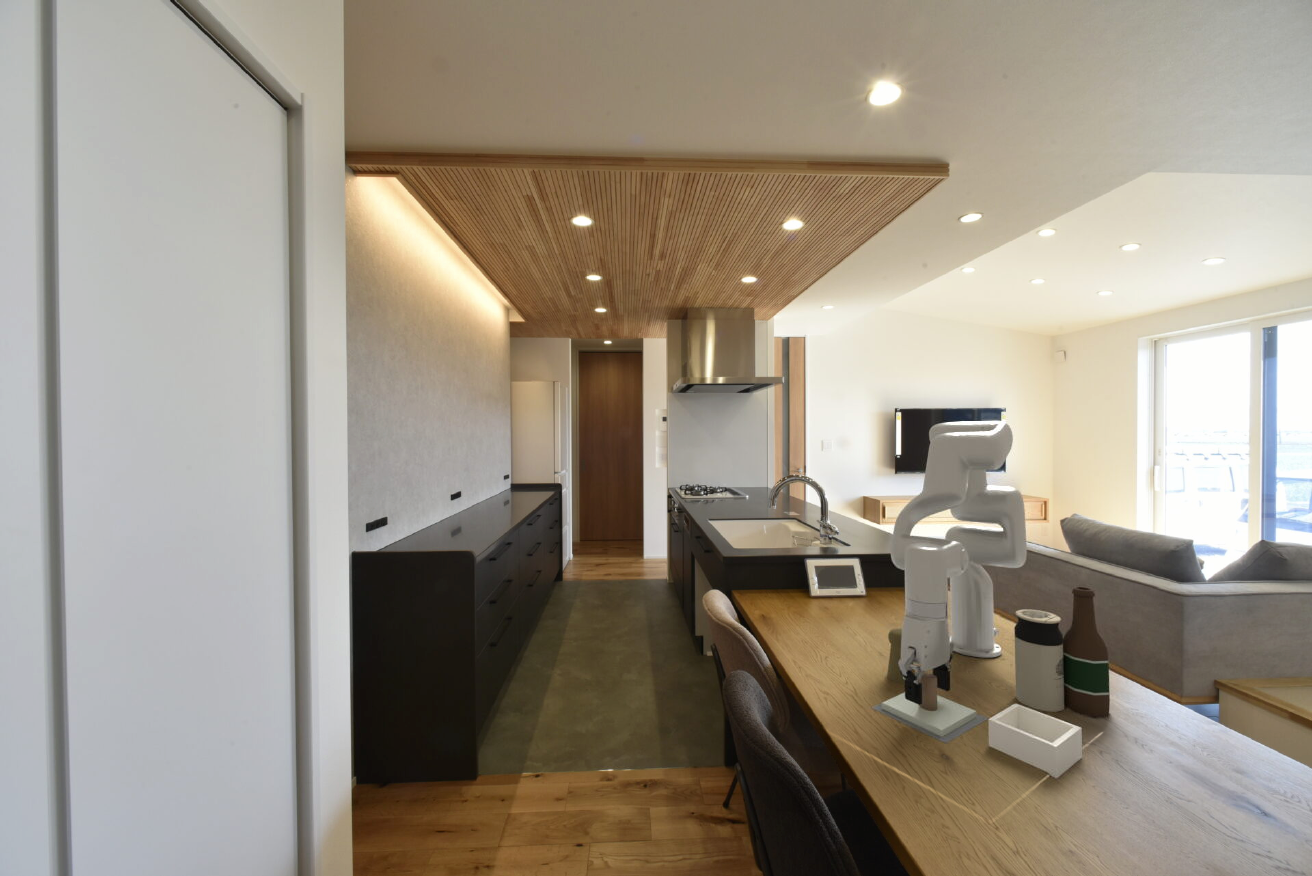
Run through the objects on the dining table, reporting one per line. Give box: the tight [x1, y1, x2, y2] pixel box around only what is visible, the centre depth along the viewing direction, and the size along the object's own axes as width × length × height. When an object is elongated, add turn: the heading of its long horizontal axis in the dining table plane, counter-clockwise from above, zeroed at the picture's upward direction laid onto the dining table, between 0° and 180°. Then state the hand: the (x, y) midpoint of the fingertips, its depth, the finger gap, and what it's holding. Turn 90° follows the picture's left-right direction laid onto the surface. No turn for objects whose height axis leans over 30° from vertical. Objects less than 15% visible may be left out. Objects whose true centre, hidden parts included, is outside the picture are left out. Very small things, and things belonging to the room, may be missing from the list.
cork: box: [886, 628, 916, 684], centre depth 118 cm, size 6×6×11 cm
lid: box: [881, 672, 977, 737], centre depth 102 cm, size 12×12×7 cm
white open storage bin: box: [987, 703, 1083, 779], centre depth 90 cm, size 10×10×5 cm
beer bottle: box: [1063, 586, 1111, 719], centre depth 104 cm, size 8×8×24 cm
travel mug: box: [1013, 609, 1065, 713], centre depth 106 cm, size 8×8×18 cm
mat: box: [870, 695, 990, 744], centre depth 102 cm, size 15×15×1 cm
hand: (927, 694), depth 102 cm, fingers open, 9 cm apart
